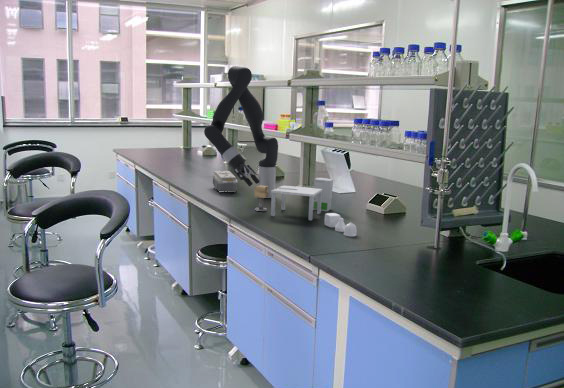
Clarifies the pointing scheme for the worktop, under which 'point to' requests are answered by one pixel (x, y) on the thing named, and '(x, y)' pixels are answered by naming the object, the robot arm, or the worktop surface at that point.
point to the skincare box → (323, 193)
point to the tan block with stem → (261, 196)
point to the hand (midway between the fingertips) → (254, 183)
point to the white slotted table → (297, 191)
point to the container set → (339, 224)
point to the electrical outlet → (224, 181)
